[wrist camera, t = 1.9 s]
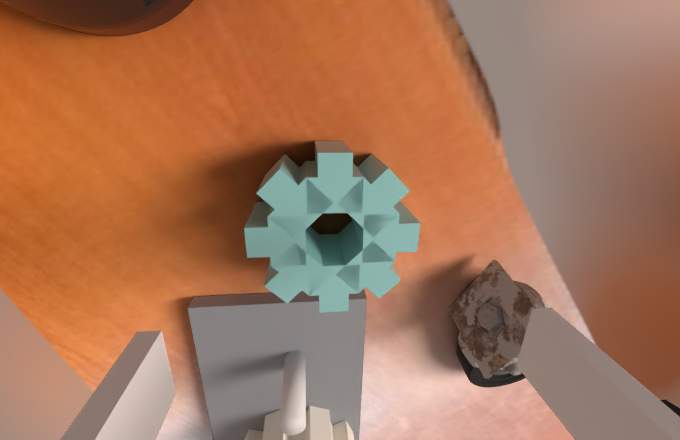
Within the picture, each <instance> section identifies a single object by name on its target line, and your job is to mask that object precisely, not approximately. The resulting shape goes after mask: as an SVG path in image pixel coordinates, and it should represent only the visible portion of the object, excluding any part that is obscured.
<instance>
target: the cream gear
mask: <svg viewBox="0 0 680 440" xmlns="http://www.w3.org/2000/svg"><path fill="white" fill-rule="evenodd" d="M280 413H281V410H278V411H275V412H273V413H270V414H268V415H265V422H264V430H263V431H257V430H252V429H249V430H248V433H247V435H246V437H245V439H244V440H354V435H353V431H352V430H351V428H350V426H349V424H348V423H347V421H346V420H345V421H342V422H340V423H337V424H334V425H332V423H331V422H330V411H329V410H328V409H323V408H318V407H313V406H309V408H308V410H307V412H306V428H305V429H304V431H302V432H301V433H299V434H296V435H287V434H284V433H283V432H282V431H281V430H280Z"/></svg>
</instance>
